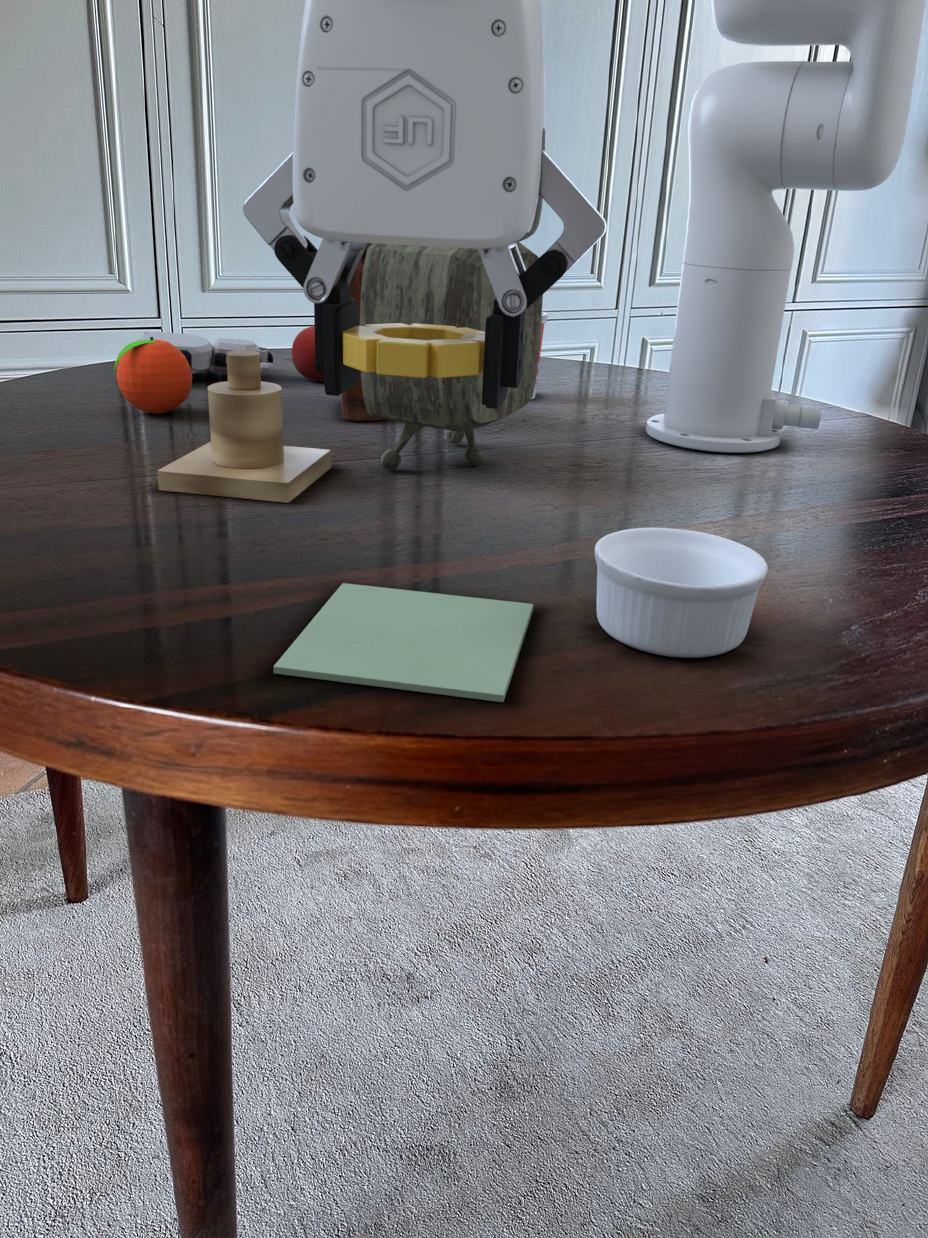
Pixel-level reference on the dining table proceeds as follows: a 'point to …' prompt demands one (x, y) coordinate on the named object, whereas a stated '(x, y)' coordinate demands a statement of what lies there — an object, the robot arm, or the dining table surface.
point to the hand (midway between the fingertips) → (417, 393)
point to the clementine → (153, 375)
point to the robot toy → (210, 351)
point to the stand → (246, 443)
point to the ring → (414, 350)
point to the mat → (412, 642)
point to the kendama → (306, 354)
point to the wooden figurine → (353, 397)
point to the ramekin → (676, 590)
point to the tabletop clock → (438, 295)
